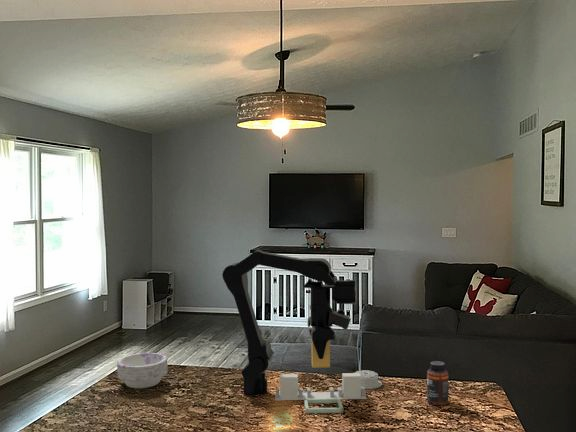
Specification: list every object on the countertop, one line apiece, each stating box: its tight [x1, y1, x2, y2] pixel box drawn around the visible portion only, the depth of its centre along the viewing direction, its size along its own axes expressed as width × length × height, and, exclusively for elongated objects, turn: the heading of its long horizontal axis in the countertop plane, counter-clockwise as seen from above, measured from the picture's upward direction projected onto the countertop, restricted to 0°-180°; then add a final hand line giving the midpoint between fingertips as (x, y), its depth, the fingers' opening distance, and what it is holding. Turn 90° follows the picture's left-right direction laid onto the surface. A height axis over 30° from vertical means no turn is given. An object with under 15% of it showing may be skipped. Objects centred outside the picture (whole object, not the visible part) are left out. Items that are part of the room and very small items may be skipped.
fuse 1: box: [279, 373, 299, 398], centre depth 169 cm, size 5×3×6 cm, turn 92°
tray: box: [303, 398, 345, 414], centre depth 161 cm, size 10×8×2 cm
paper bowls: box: [116, 352, 168, 389], centre depth 183 cm, size 15×15×8 cm
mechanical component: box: [353, 369, 383, 390], centre depth 180 cm, size 10×4×10 cm
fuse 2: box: [341, 372, 361, 397], centre depth 170 cm, size 5×3×6 cm, turn 92°
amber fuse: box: [311, 340, 331, 369], centre depth 169 cm, size 5×3×8 cm, turn 92°
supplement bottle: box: [426, 360, 450, 406], centre depth 167 cm, size 6×6×11 cm
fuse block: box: [274, 386, 368, 401], centre depth 170 cm, size 26×6×3 cm, turn 92°
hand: (320, 357), depth 169 cm, fingers closed on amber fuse, 3 cm apart
